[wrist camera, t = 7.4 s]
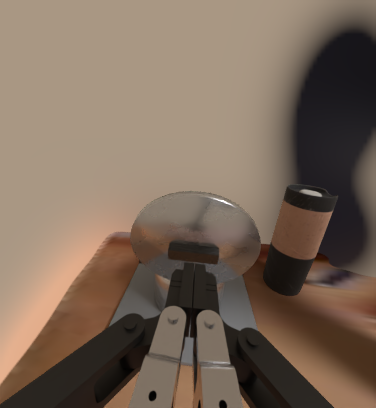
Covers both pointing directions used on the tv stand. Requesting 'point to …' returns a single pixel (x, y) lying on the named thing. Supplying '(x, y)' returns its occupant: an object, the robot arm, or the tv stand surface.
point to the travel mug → (297, 237)
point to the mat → (229, 311)
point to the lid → (195, 235)
